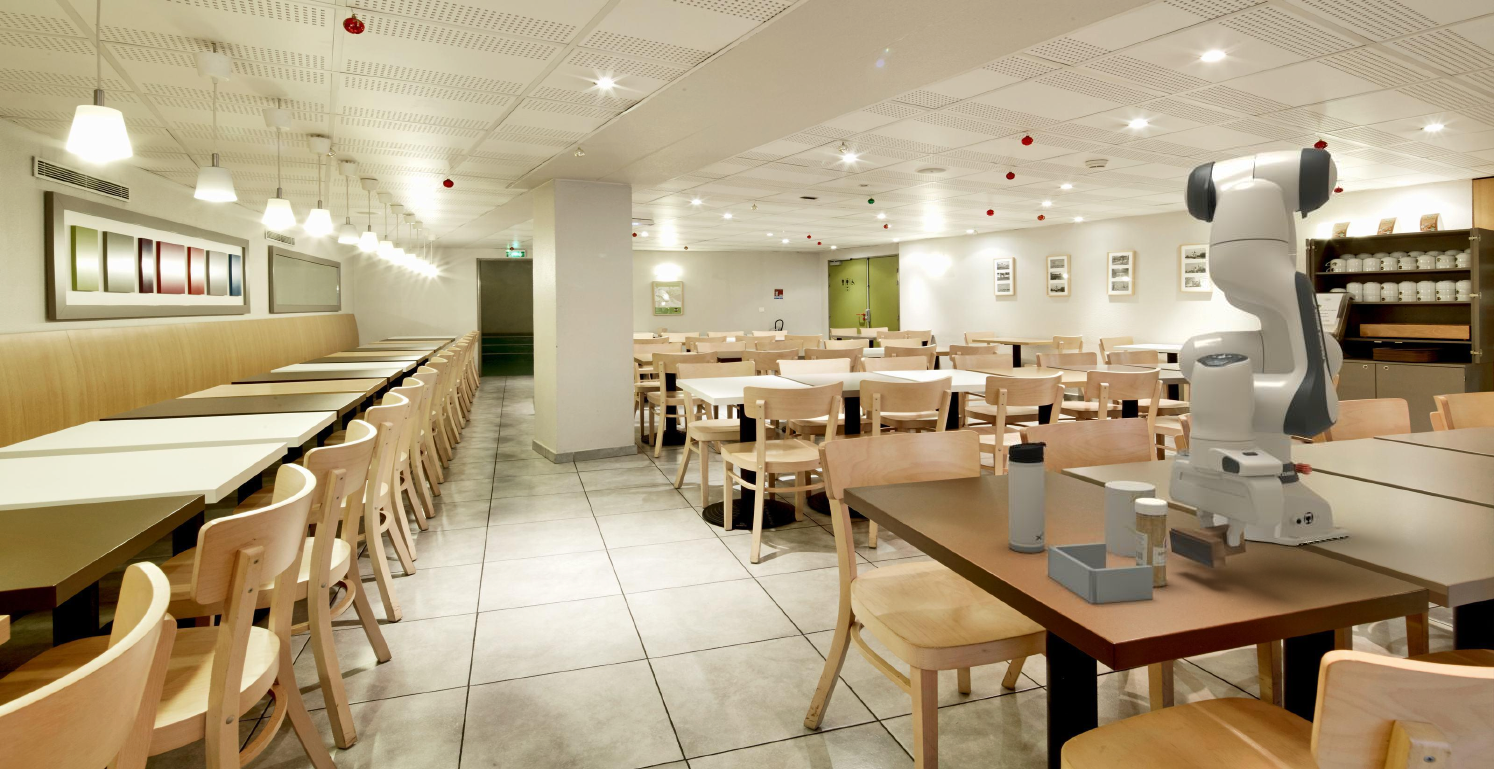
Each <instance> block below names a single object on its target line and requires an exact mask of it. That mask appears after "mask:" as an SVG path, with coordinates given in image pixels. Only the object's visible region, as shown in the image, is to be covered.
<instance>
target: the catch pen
mask: <svg viewBox="0 0 1494 769" xmlns="http://www.w3.org/2000/svg"><path fill="white" fill-rule="evenodd" d="M1047 577H1049V578H1051V579H1052V580H1053V581H1055V582H1057V583H1059V584H1060V585H1061V586H1063V587H1065V588H1066V589H1068V590H1070V591H1071V592H1072V593H1074V594H1076V595H1077V596H1079V597H1081V599H1084V600H1085V601H1087V602H1089V603H1090V604H1091V605H1095V604H1105V603H1107V604H1108V603H1115V602H1116V603H1118V602H1121V603H1122V602H1130V601H1142V600H1143V601H1145V600H1153V599H1154V587H1153V566H1151V565H1143V566H1136V565H1131V566H1119V567H1107V550H1106V543H1105V542H1090V543H1076V544H1063V545H1048V546H1047Z"/></svg>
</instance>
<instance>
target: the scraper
mask: <svg viewBox="0 0 1494 769" xmlns="http://www.w3.org/2000/svg"><path fill="white" fill-rule="evenodd" d="M1229 527H1230V525H1229V524H1223V525H1218V526H1213V527H1209V528H1204V529H1202V528H1201V529H1193V528H1190V527H1186V526H1185V525H1179V526H1174V527H1170V530H1168V532H1169V539H1170V540H1169V541H1170V549H1171V553H1173V554H1176V555H1178V556H1181V557H1183V558H1185V559H1188V560H1190V561H1193V562H1196V563H1199V564H1201V565H1203V566H1206V567H1208V568H1211V569H1213V568H1217V567H1218V568H1219V567H1222V566H1226V565H1227V562H1226V557H1229V556H1234V555H1239V554H1245V553H1246V552H1247V550H1246V541H1245V540H1246V539H1244V531H1242V533H1241V535H1240V544H1239V545H1238V546H1229V545H1226V544H1224V543H1223V537H1222V536H1223V533H1227V531H1228V529H1229Z"/></svg>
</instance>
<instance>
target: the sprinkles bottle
mask: <svg viewBox="0 0 1494 769" xmlns="http://www.w3.org/2000/svg"><path fill="white" fill-rule="evenodd" d="M1168 505H1169V504H1168V502H1167V501H1166V500H1164V499H1160V498H1156V497H1155V498H1139V499H1136V500H1135V511H1136V557H1135V566H1143V565H1151V566H1153V588H1157V587H1164V586H1166V585H1167V583H1168V580H1167V514H1168V509H1169V508H1168Z"/></svg>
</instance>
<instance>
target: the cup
mask: <svg viewBox="0 0 1494 769" xmlns="http://www.w3.org/2000/svg"><path fill="white" fill-rule="evenodd" d="M1139 498H1155V499H1156V486H1155V485H1154V484H1150V483H1148V482H1147V483H1146V482H1141V481H1132V480H1113V481H1107V482H1106V483H1105V484H1104V543H1106V552H1108V553H1111V554H1113V555H1117V556H1122V557H1129V558H1130V557H1131V558H1136V511H1135V500H1136V499H1139Z"/></svg>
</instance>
